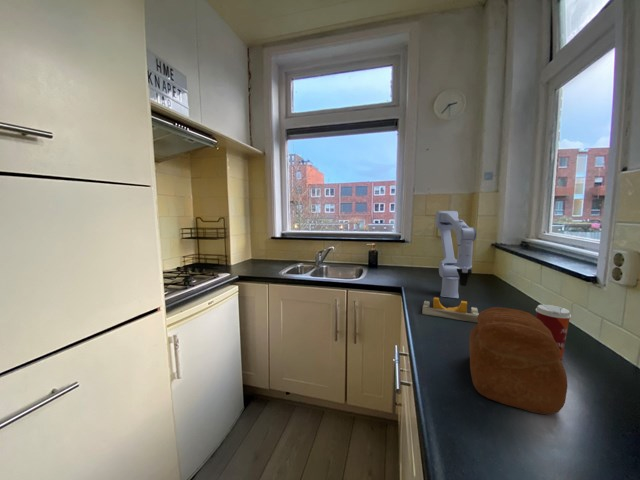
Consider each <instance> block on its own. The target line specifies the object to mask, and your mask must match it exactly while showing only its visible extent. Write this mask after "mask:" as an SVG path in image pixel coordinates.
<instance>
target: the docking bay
mask: <svg viewBox="0 0 640 480" xmlns="http://www.w3.org/2000/svg"><path fill="white" fill-rule="evenodd" d="M470 308H471V309H470V313H468V312H467V313H464V312H457V311H450V310H444V309H437V308H433V307H430V301H429V300H424V302H423V305H422V311H421V312H422V313H421V314H422V315H426V316H432V317H439V318H446V319H452V320H458V321H465V322H470V323H476V324H478V320H477V316H478V315H479V313H480V312H479V310H478V307H474V306H472V307H470Z"/></svg>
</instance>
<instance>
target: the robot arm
mask: <svg viewBox="0 0 640 480" xmlns="http://www.w3.org/2000/svg"><path fill="white" fill-rule="evenodd" d="M434 221H435V226H436V229H438V230H439V233H440V240H441V247H442V253H443V254H442V256H443V259H442V260H441V261H440V262H439V264H438V273H439V276H440V277H441V278H442V281H441V290H440V297H442V298H444V297H445V298H450V299H460V297H459V296H460V295H459V284H460V286H461V287H467V284H468V280H469V278H470V275H471V274H472V272H473V271H472V268H473V254H474V253H473V252H474V241H476V239H477V230H476V229H475V227H473V226H472V227H470V226H469V225H468V224H467V223H466V222H465V221H464V219H459V212H458V211H457V210H437V211H436V213H435V217H434ZM451 230H453V232H455V237H456V244H457V258H456V257H455V252H454V245H453V240H452V233H451Z"/></svg>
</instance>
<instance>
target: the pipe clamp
mask: <svg viewBox="0 0 640 480" xmlns="http://www.w3.org/2000/svg"><path fill="white" fill-rule="evenodd" d="M440 301H441V300H440V298H439V297H436V296H435V297H433V303H432V308H437V309H444V310H450V311H457V312H464V313H468V301H467V300H466V301H465V300H461V301H460V303H459V305H458V306H454V307H445V306H444V305H443V304H442V303H441V302H440Z"/></svg>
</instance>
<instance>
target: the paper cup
mask: <svg viewBox="0 0 640 480" xmlns="http://www.w3.org/2000/svg"><path fill="white" fill-rule="evenodd" d="M535 312H536V318H538V319H539V320H540V321H541V322H542V323H543V324H544V325H545V326H546V327H547V328H548V329H549V330H550V331H551V333H552V336H553V338H554V340H555V342H556V343H557V345H558V347H559V348H560V356H559V359H560V361H561V360H562V359H563V356H564V351H565V347H566V346H565V345H566V340H567V335H568V330H569V329H568V328H569V323H570V320H571V318H572V315H571V312H570V310H569V309H567V308H564V307H561V306H557V305H552V304H538V305H537V307H536V308H535Z"/></svg>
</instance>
